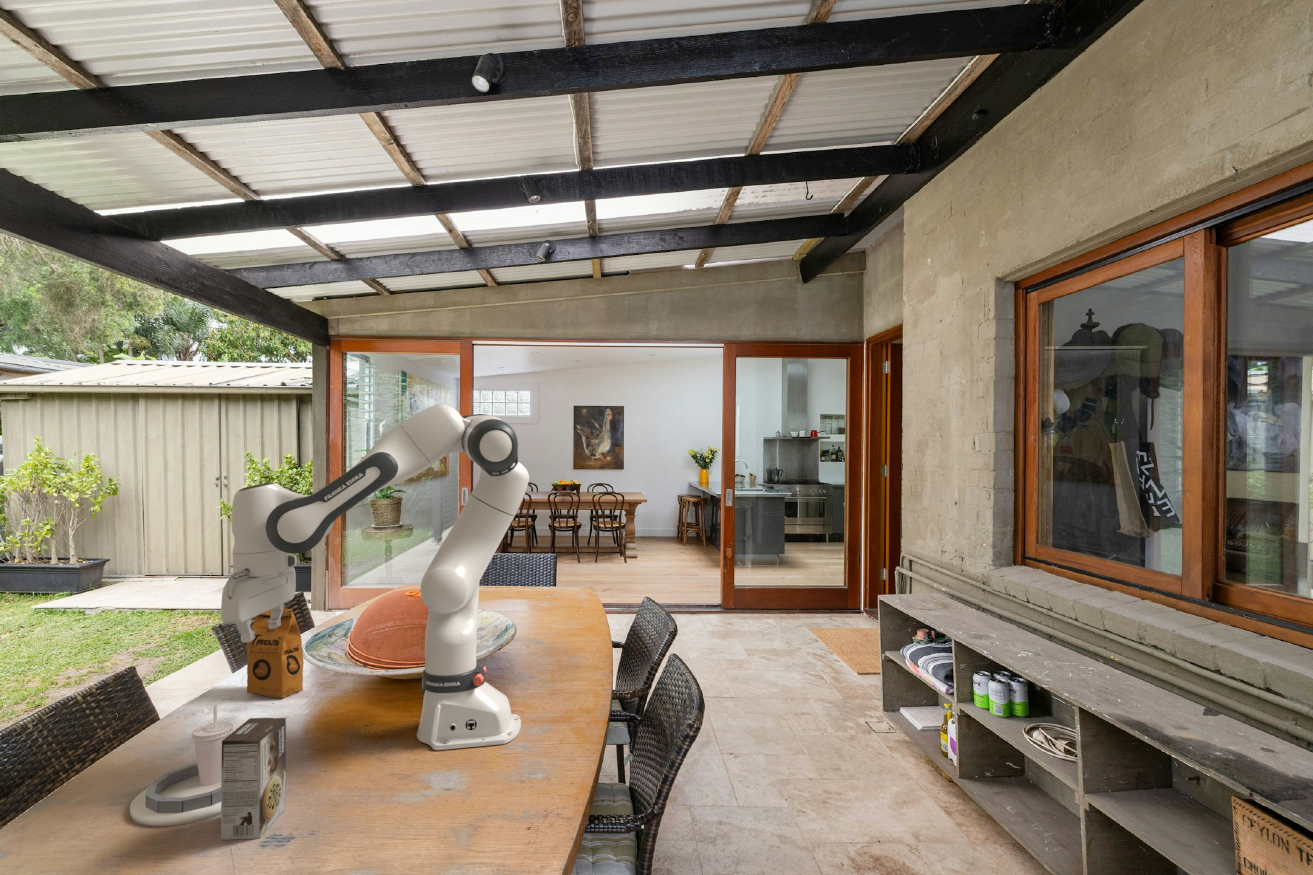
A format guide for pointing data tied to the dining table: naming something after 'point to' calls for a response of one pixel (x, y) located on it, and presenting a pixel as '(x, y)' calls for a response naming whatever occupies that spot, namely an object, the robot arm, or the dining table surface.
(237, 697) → the dining table surface
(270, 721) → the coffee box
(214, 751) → the smoothie
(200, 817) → the ring plate
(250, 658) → the coffee package
